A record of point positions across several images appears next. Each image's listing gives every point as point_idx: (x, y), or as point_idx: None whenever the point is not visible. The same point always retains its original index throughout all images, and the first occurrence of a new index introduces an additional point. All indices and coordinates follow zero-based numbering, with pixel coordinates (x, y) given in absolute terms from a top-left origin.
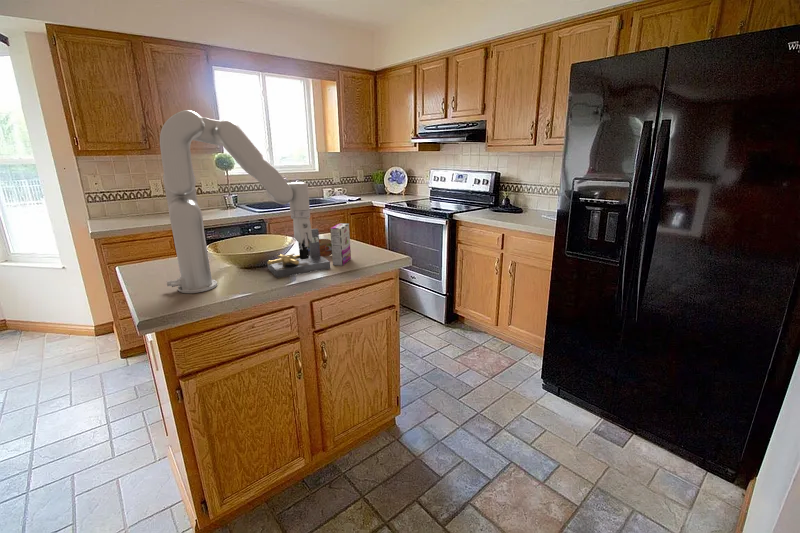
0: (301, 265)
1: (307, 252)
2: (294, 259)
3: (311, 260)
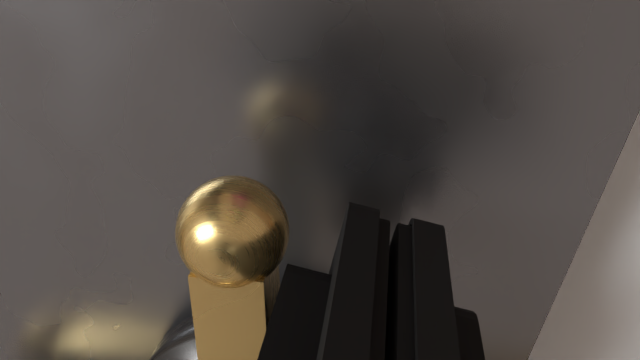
0: None
1: (444, 339)
2: (196, 355)
3: (307, 29)
